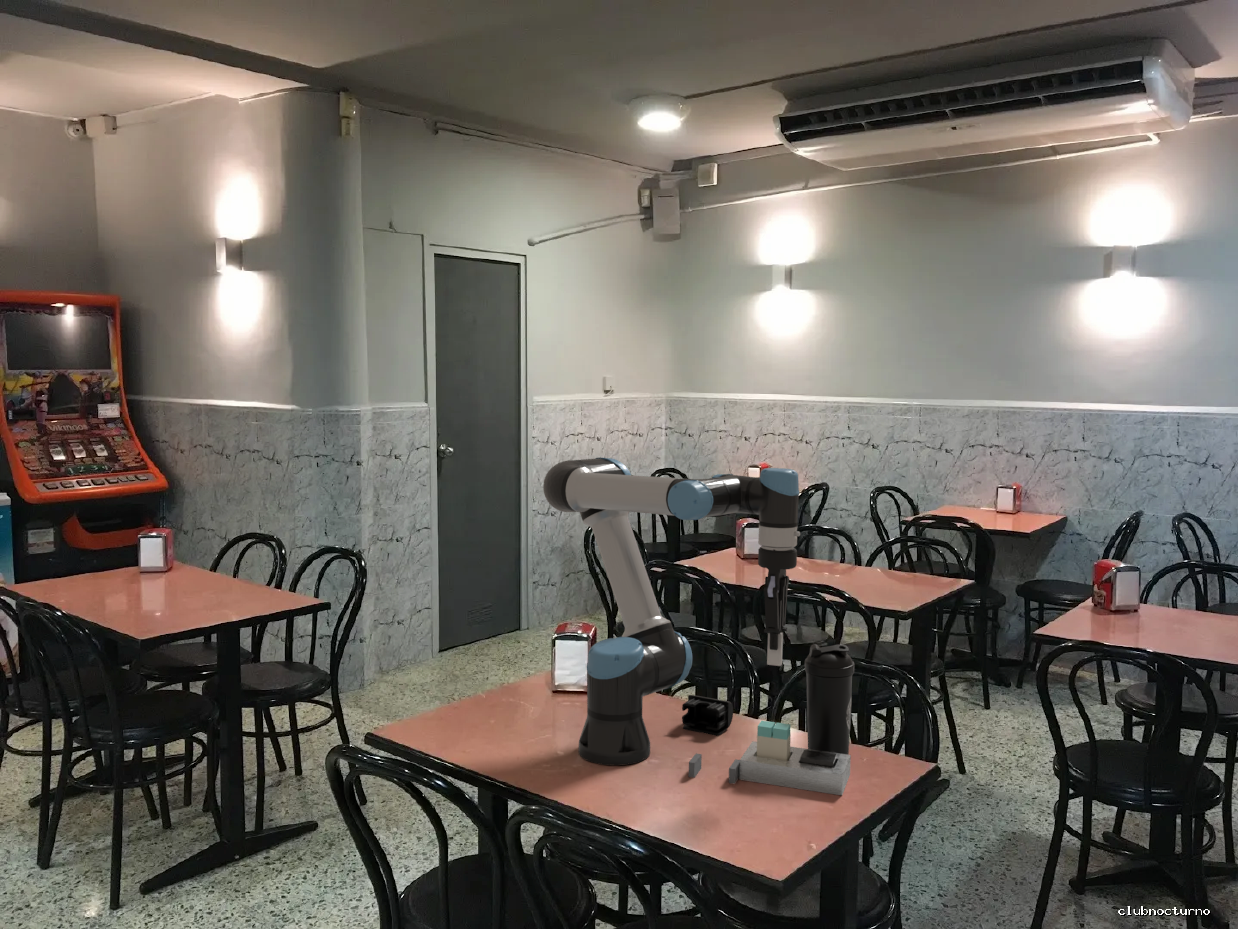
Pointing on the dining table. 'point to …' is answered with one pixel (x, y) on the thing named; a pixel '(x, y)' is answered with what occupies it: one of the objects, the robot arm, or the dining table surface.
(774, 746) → the plug
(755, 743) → the panel
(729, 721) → the end cap
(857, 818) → the dining table surface
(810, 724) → the water bottle
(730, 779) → the pair of grey blocks
